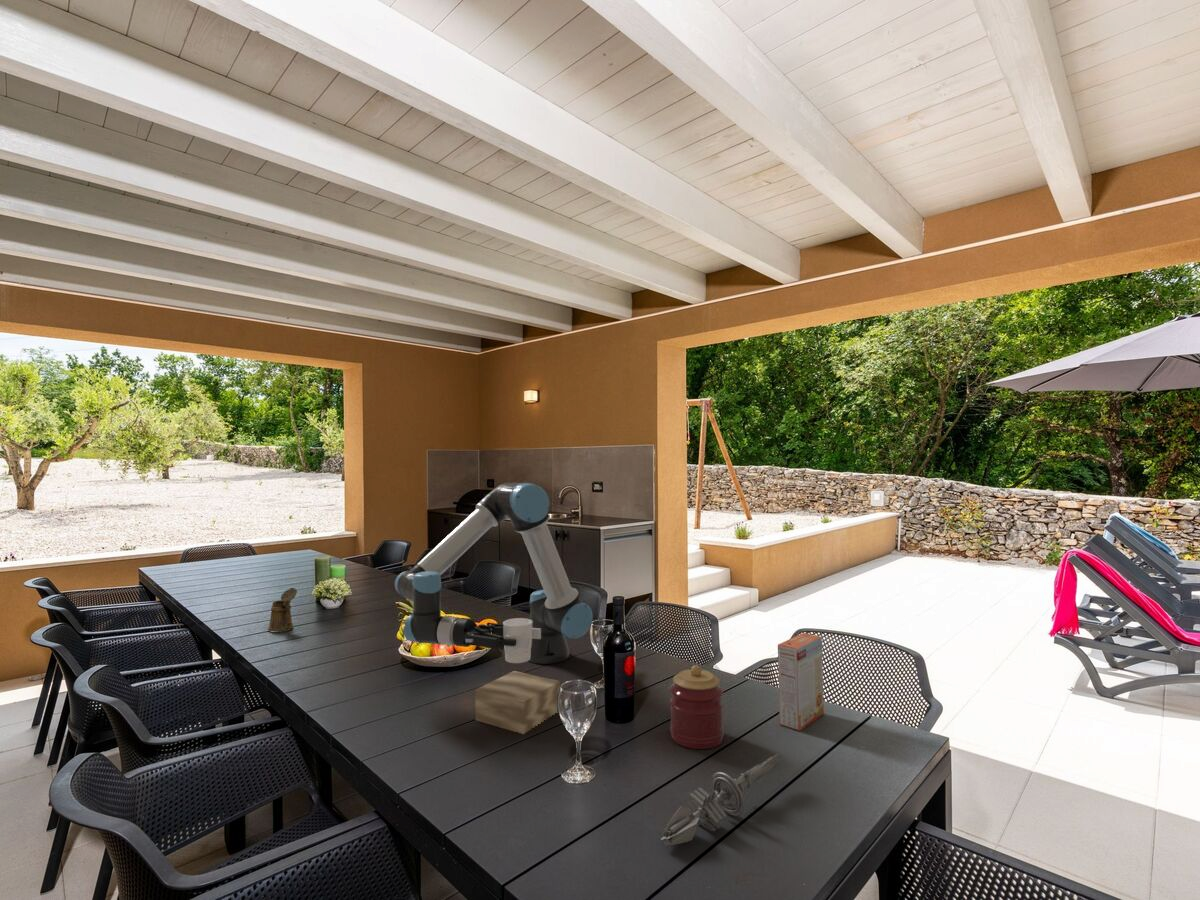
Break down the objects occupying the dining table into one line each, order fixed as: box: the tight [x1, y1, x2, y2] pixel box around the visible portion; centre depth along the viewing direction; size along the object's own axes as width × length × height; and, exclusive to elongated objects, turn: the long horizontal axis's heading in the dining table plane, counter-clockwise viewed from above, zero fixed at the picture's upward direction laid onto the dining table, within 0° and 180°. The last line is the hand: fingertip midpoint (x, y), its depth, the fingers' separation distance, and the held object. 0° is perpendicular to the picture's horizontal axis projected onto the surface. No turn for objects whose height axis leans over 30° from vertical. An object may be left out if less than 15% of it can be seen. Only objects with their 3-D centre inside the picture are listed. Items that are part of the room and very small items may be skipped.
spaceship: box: [660, 752, 783, 846], centre depth 115 cm, size 8×35×8 cm
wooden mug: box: [267, 587, 298, 632], centre depth 240 cm, size 9×14×18 cm, turn 55°
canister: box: [669, 664, 725, 750], centre depth 146 cm, size 13×13×18 cm
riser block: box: [474, 670, 561, 735], centre depth 159 cm, size 16×16×8 cm
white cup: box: [502, 617, 533, 664], centre depth 159 cm, size 8×8×10 cm
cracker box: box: [777, 632, 825, 732], centre depth 155 cm, size 14×6×21 cm, turn 134°
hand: (534, 638), depth 158 cm, fingers closed on white cup, 8 cm apart
